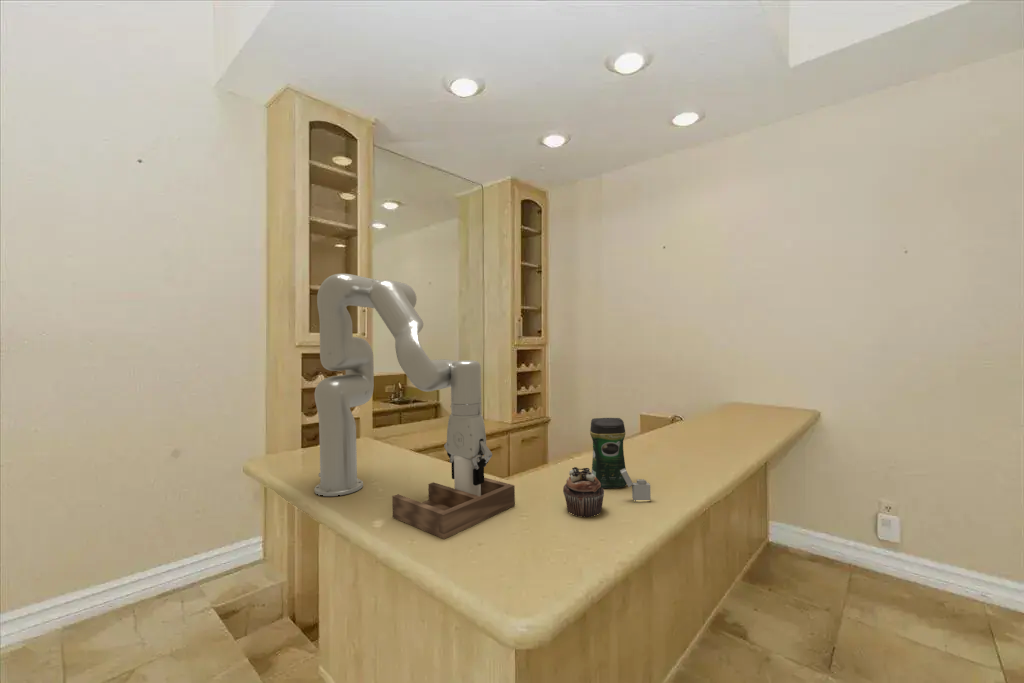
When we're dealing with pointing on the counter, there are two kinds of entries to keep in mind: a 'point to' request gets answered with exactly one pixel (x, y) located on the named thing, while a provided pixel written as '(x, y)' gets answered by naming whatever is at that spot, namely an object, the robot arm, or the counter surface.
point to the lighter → (637, 487)
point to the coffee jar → (608, 451)
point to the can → (465, 475)
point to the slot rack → (453, 507)
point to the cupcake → (583, 493)
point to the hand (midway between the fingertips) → (467, 480)
